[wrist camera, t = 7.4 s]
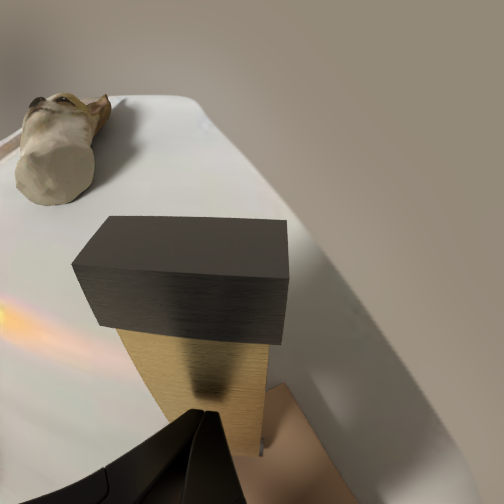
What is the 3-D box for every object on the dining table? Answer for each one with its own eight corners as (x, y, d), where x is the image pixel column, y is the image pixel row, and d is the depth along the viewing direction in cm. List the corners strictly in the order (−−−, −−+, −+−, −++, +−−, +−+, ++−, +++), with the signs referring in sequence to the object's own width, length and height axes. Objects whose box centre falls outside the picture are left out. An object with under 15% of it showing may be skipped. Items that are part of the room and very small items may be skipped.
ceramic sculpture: (-36, 177, 12) (11, 93, 20) (22, 245, 20) (41, 149, 27) (85, 105, 14) (97, 49, 21) (127, 197, 21) (118, 113, 29)
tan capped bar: (262, 464, 11) (288, 278, 4) (186, 456, 12) (71, 263, 4) (264, 435, 13) (286, 220, 5) (191, 428, 13) (109, 216, 6)
